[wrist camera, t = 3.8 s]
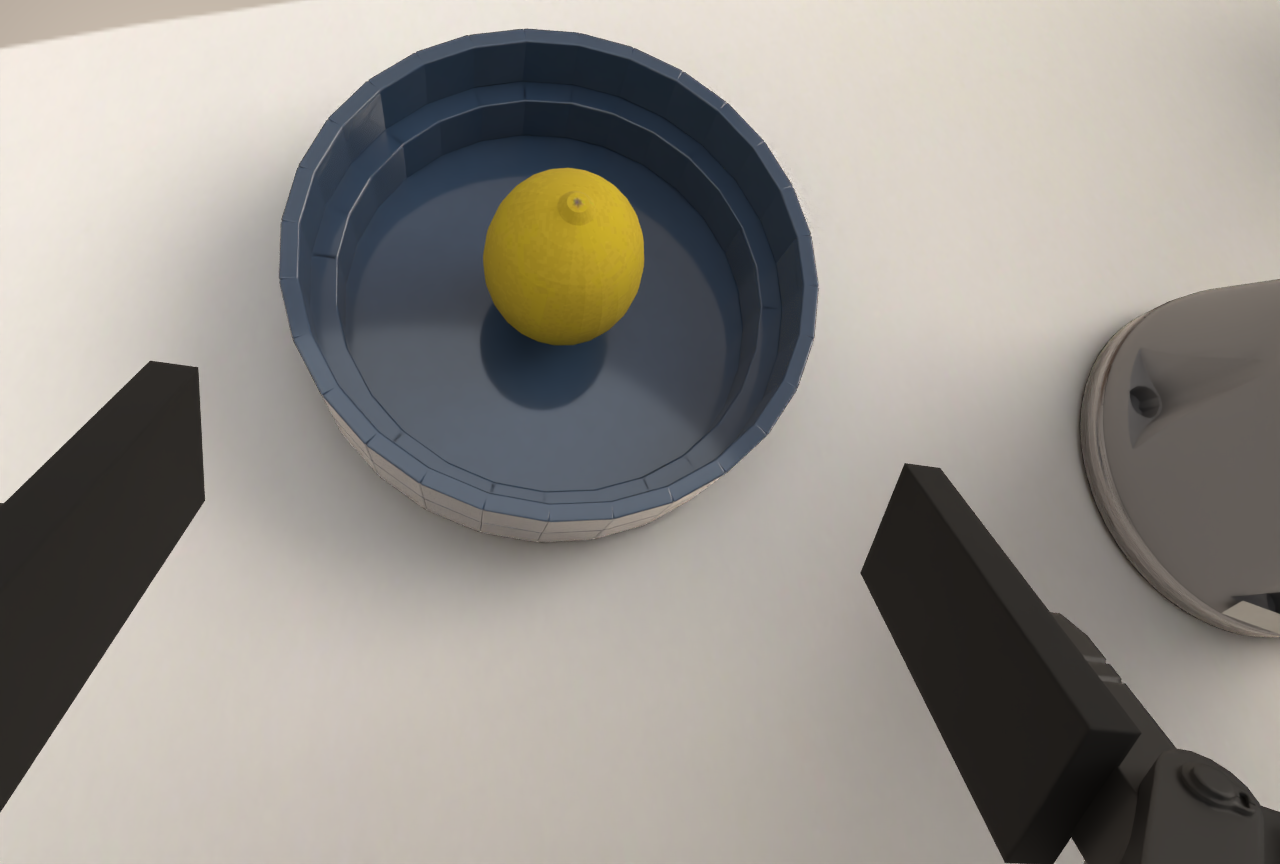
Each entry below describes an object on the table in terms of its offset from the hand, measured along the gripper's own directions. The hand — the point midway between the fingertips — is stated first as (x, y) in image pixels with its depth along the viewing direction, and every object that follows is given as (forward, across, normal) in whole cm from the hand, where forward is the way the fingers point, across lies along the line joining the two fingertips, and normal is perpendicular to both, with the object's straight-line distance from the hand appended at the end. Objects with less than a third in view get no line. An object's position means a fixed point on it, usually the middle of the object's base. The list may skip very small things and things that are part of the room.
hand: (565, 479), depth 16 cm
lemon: (+18, 0, -4) cm, 18 cm away
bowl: (+18, 0, -4) cm, 19 cm away
